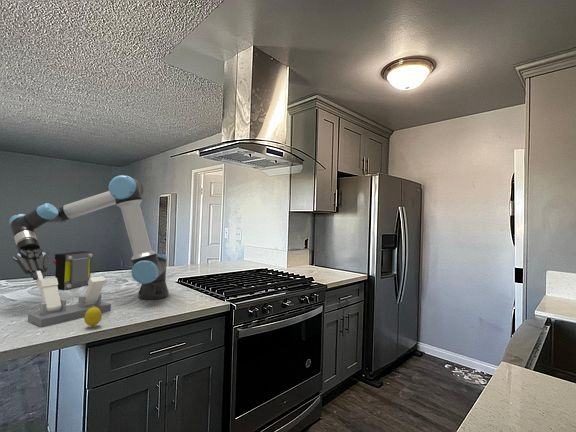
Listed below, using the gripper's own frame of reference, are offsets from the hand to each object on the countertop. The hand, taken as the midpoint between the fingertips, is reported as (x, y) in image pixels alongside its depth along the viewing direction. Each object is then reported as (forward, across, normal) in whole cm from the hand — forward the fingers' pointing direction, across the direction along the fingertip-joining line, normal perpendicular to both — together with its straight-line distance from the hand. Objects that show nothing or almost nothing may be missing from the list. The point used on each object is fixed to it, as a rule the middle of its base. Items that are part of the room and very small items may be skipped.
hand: (41, 284), depth 127 cm
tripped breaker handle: (+15, 0, +2) cm, 15 cm away
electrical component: (-23, -32, -41) cm, 57 cm away
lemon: (+32, -5, +14) cm, 35 cm away
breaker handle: (+14, -14, +1) cm, 20 cm away
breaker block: (+17, -7, -1) cm, 18 cm away
